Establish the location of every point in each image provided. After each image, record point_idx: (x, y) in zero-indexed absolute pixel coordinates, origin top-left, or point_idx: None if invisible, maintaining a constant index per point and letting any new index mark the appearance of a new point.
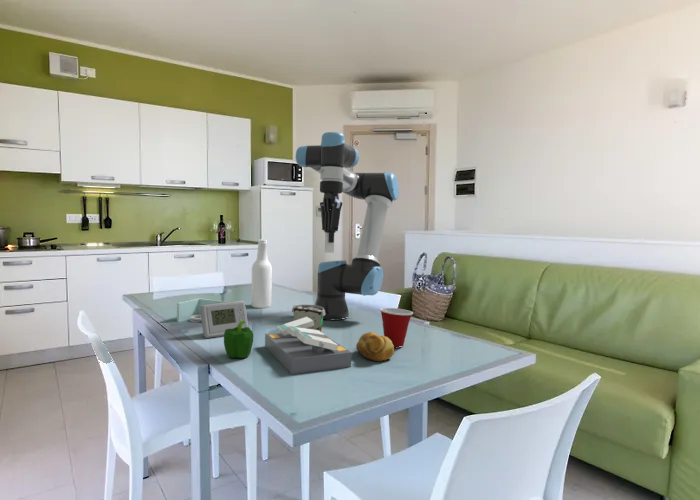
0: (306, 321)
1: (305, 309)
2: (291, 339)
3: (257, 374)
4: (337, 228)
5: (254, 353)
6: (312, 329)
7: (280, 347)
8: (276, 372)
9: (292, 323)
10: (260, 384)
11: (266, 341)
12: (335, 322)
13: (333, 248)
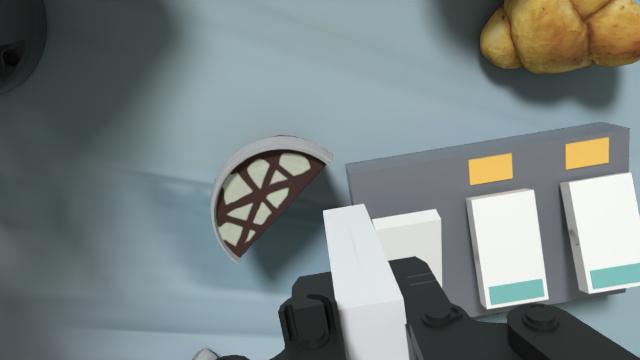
0: (427, 238)
1: (275, 219)
2: (452, 270)
3: None
4: (583, 333)
5: None
6: (476, 222)
7: None
8: (575, 304)
9: None
10: (631, 340)
11: None
12: (79, 21)
13: (369, 220)
